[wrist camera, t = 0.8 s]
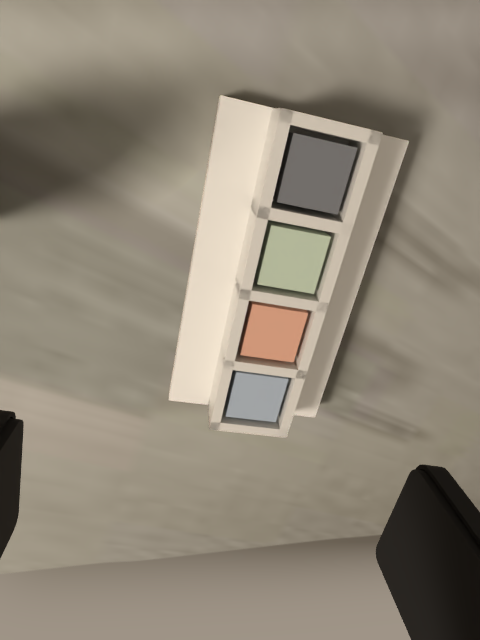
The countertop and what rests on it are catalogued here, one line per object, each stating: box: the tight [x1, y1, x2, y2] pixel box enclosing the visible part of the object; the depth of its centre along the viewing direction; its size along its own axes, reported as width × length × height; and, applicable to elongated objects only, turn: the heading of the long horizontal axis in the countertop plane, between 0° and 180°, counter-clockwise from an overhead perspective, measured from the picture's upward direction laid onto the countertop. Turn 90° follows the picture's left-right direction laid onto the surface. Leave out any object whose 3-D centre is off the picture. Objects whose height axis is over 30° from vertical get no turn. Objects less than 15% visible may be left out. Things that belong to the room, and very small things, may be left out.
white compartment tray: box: [169, 95, 409, 438], centre depth 34 cm, size 25×14×6 cm, turn 168°
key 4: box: [225, 370, 288, 422], centre depth 36 cm, size 4×4×2 cm
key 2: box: [255, 220, 331, 294], centre depth 32 cm, size 4×4×2 cm
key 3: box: [239, 301, 308, 362], centre depth 34 cm, size 4×4×2 cm
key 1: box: [273, 132, 357, 215], centre depth 29 cm, size 4×4×2 cm
